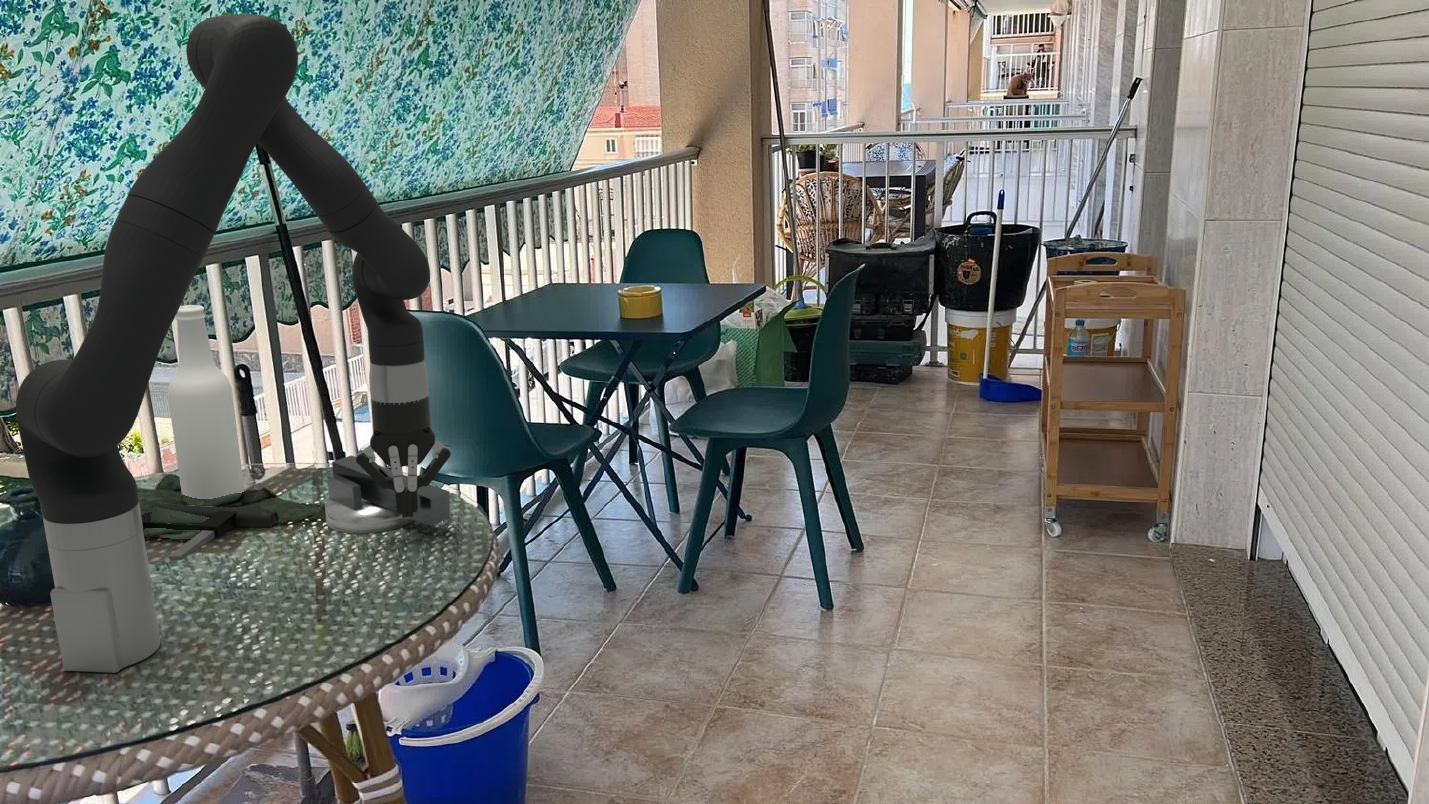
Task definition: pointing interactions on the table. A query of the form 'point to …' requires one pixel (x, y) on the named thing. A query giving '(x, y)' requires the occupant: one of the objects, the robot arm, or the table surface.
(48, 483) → the robot arm
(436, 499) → the bar
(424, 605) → the table surface
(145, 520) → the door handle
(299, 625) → the table surface
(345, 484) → the slotted disc stand
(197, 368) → the alcohol
